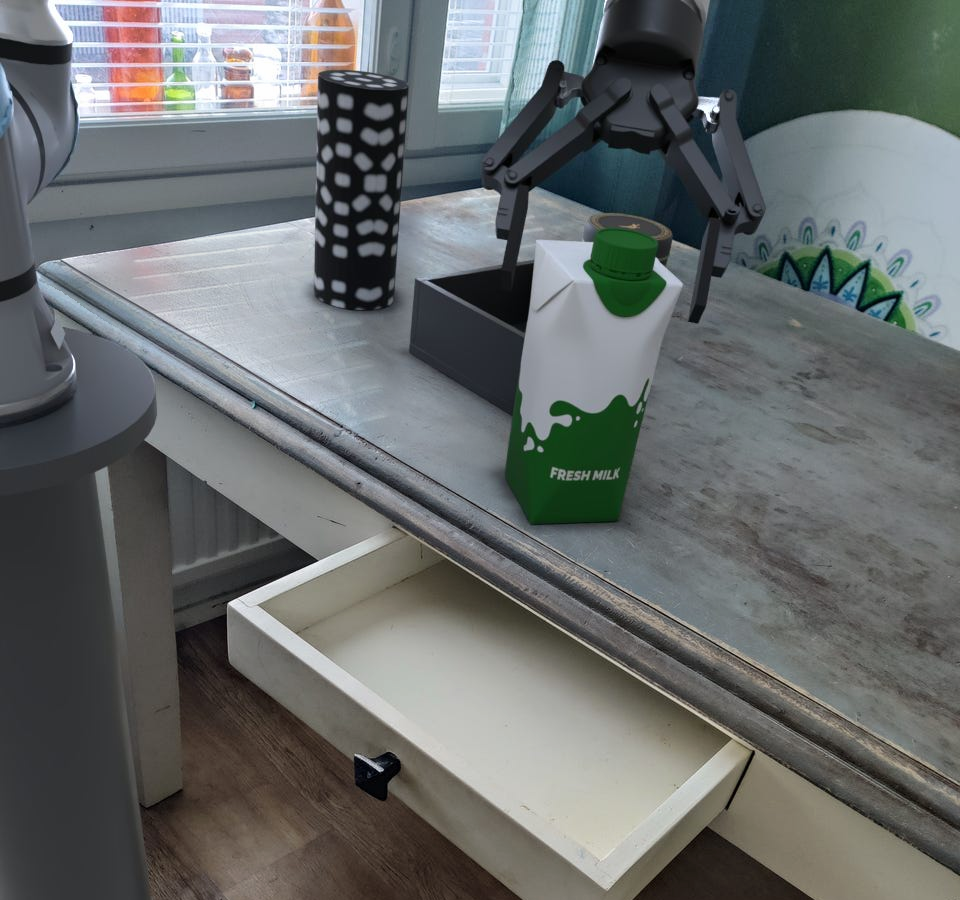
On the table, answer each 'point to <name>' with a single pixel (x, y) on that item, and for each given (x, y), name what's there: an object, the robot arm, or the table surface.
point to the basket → (474, 328)
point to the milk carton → (586, 373)
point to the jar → (631, 223)
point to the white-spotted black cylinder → (358, 187)
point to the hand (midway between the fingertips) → (600, 298)
